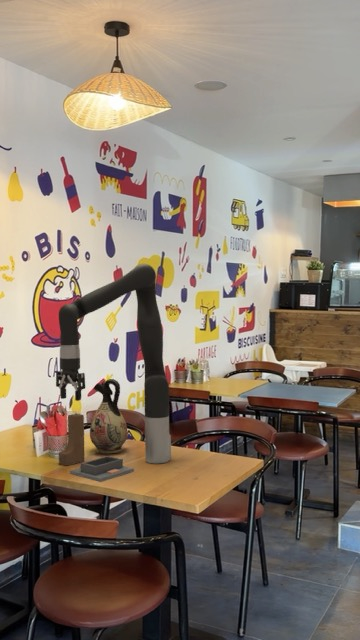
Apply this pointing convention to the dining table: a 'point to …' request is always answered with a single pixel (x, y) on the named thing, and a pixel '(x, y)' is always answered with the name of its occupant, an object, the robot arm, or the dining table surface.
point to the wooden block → (74, 441)
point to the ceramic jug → (108, 421)
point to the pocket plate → (102, 469)
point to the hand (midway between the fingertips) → (70, 399)
